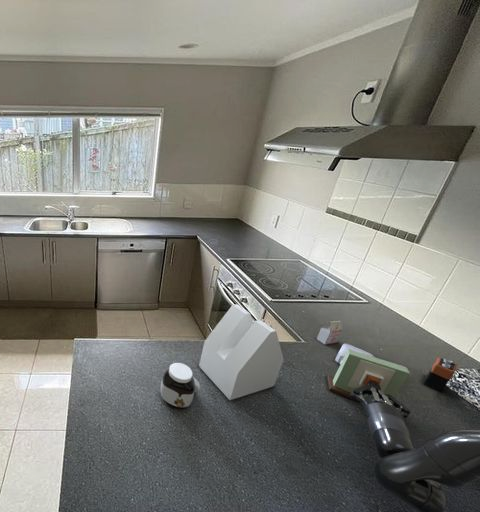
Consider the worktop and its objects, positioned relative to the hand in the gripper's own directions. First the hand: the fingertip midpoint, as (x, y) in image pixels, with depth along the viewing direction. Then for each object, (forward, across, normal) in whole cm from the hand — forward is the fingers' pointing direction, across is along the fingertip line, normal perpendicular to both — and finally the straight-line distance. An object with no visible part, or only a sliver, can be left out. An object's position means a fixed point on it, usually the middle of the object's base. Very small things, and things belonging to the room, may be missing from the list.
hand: (371, 383), depth 87 cm
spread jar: (-31, +50, +9) cm, 60 cm away
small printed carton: (+34, +6, +9) cm, 36 cm away
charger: (+20, 0, +9) cm, 22 cm away
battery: (+27, -24, +9) cm, 37 cm away
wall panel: (+4, 0, +9) cm, 10 cm away
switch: (+1, 0, +2) cm, 2 cm away
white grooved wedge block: (-11, +36, +9) cm, 39 cm away
